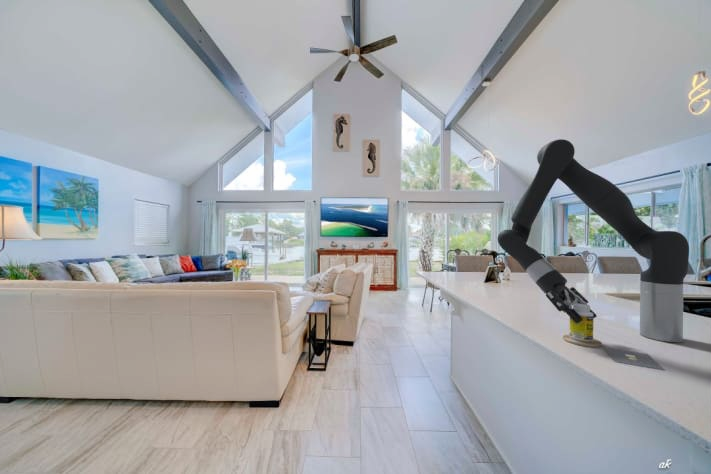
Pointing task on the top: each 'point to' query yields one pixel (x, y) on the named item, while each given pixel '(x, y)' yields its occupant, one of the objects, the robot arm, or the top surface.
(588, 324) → the supplement bottle
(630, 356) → the gray board
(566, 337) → the cork coaster
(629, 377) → the top surface
